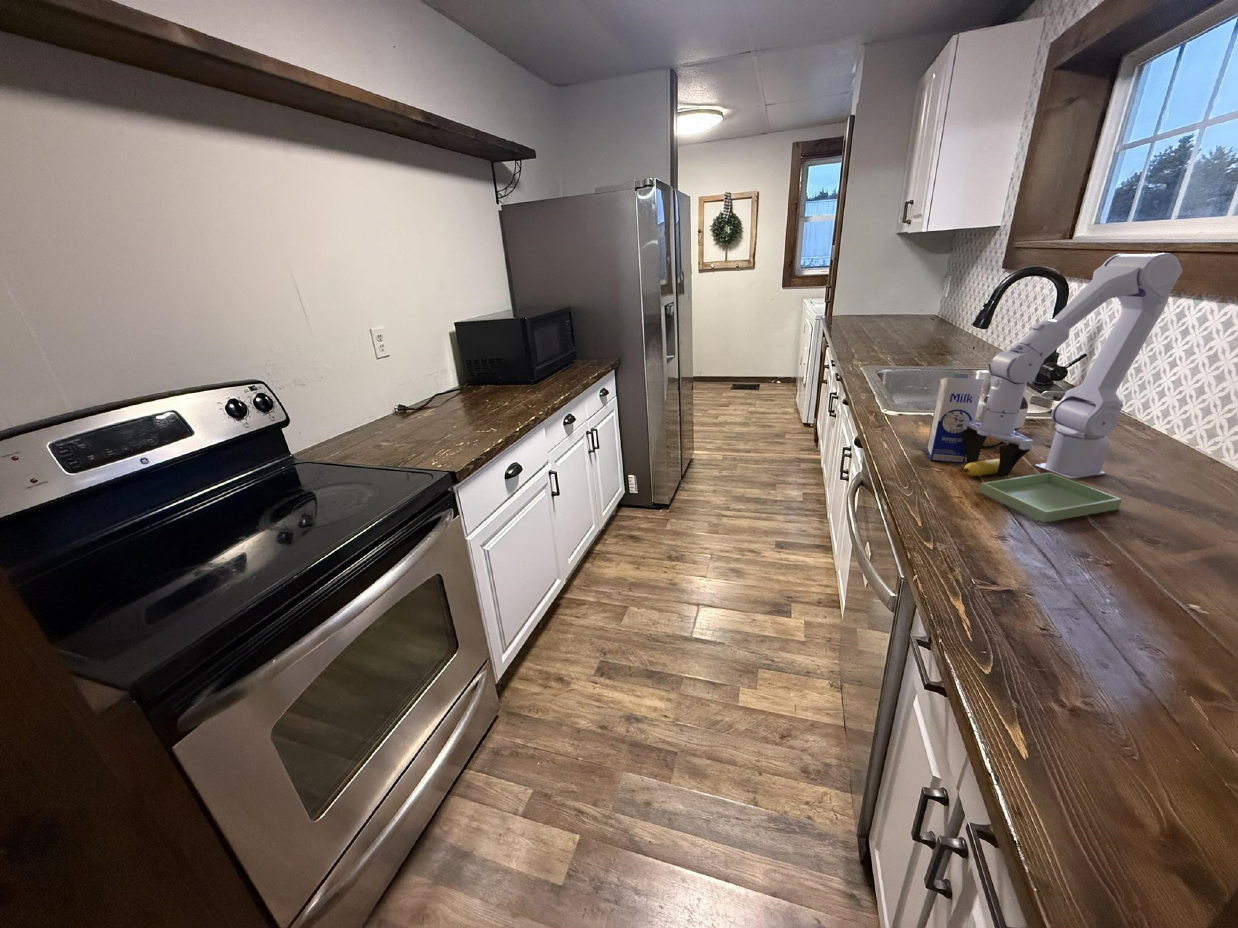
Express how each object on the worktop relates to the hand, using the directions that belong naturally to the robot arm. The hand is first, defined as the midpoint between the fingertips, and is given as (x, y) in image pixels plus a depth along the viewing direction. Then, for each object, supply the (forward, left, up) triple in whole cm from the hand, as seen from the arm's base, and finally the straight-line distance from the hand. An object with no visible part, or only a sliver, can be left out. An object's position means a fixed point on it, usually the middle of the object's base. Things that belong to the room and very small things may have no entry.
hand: (986, 469), depth 109 cm
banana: (0, 0, -1) cm, 1 cm away
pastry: (-17, -16, -1) cm, 23 cm away
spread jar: (-27, -24, -1) cm, 36 cm away
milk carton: (0, -11, -1) cm, 11 cm away
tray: (+1, +14, -1) cm, 14 cm away
